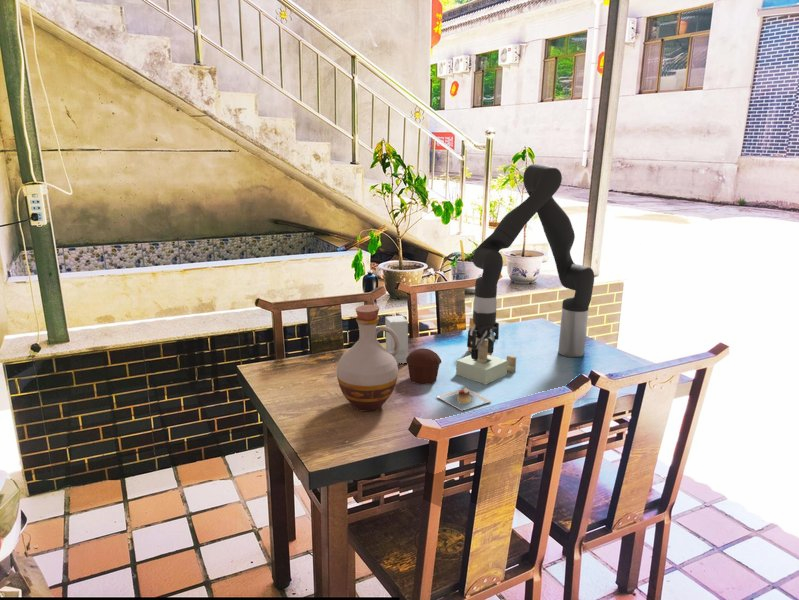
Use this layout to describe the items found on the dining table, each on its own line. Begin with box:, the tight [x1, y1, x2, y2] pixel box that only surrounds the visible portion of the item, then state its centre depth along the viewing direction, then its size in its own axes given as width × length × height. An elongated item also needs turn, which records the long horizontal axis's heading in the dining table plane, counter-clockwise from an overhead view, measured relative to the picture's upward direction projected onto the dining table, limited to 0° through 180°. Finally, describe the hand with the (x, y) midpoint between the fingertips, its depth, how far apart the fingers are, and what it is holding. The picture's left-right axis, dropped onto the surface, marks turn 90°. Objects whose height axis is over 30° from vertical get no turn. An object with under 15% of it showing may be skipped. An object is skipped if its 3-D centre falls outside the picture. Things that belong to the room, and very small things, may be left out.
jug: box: [336, 304, 399, 412], centre depth 173 cm, size 20×18×30 cm
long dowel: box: [477, 339, 488, 364], centre depth 200 cm, size 3×3×12 cm
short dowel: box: [506, 354, 517, 373], centre depth 205 cm, size 3×3×5 cm
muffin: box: [406, 348, 442, 386], centre depth 196 cm, size 12×11×10 cm
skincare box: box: [384, 314, 409, 365], centre depth 211 cm, size 8×7×16 cm
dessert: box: [436, 387, 492, 412], centre depth 181 cm, size 12×12×5 cm
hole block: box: [455, 354, 507, 385], centre depth 201 cm, size 12×12×5 cm
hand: (482, 355), depth 200 cm, fingers open, 8 cm apart
